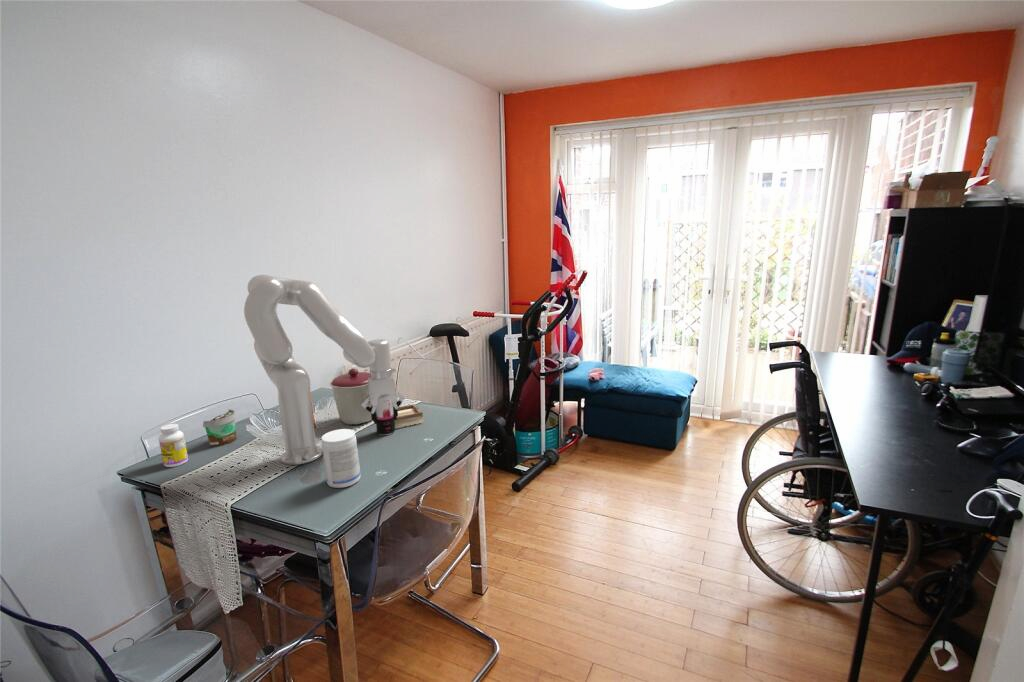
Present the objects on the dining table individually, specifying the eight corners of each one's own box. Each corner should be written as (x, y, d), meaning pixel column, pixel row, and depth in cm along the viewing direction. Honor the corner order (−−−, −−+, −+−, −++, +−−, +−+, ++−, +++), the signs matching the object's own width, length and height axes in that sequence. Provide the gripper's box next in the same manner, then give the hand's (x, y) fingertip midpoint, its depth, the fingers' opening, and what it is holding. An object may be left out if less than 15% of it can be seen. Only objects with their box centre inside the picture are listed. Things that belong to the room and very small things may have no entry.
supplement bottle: (159, 466, 153) (151, 429, 150) (179, 457, 159) (172, 421, 156) (173, 469, 150) (165, 431, 147) (193, 460, 156) (186, 423, 154)
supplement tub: (367, 476, 142) (363, 431, 139) (344, 492, 134) (339, 444, 131) (343, 470, 146) (338, 426, 143) (319, 485, 138) (313, 438, 135)
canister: (386, 410, 196) (381, 361, 192) (376, 427, 179) (371, 374, 174) (341, 412, 195) (336, 363, 191) (328, 430, 178) (321, 376, 173)
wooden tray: (423, 423, 182) (422, 412, 181) (394, 428, 177) (393, 418, 176) (415, 413, 192) (414, 404, 191) (388, 419, 187) (387, 409, 186)
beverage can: (392, 435, 171) (389, 396, 168) (374, 435, 171) (370, 396, 168) (397, 428, 178) (394, 390, 174) (380, 428, 178) (376, 390, 175)
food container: (222, 449, 164) (217, 422, 161) (207, 448, 165) (202, 421, 163) (248, 435, 175) (244, 409, 173) (233, 434, 177) (229, 408, 174)
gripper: (402, 367, 177) (405, 412, 181) (354, 375, 169) (359, 421, 173) (407, 372, 170) (411, 419, 174) (357, 380, 163) (362, 428, 166)
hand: (385, 420), depth 173 cm, fingers closed on beverage can, 6 cm apart
